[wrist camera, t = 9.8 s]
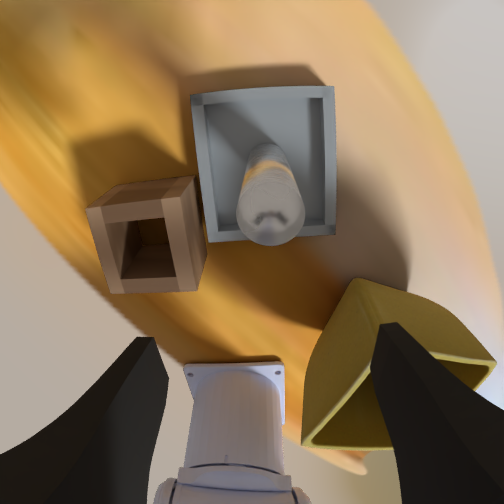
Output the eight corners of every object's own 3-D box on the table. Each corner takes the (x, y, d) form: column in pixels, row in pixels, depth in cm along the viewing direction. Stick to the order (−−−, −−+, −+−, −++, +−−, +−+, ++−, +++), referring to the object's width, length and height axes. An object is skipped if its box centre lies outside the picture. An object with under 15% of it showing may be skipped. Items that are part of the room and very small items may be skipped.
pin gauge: (287, 178, 17) (305, 244, 10) (249, 180, 17) (239, 247, 10) (285, 141, 16) (304, 180, 9) (247, 143, 16) (233, 183, 9)
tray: (329, 224, 19) (335, 234, 17) (211, 231, 19) (208, 242, 18) (327, 86, 15) (334, 86, 14) (195, 95, 15) (189, 94, 14)
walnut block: (207, 254, 20) (196, 291, 16) (133, 259, 20) (110, 293, 16) (195, 175, 17) (179, 196, 14) (115, 185, 18) (85, 208, 14)
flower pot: (287, 343, 23) (297, 449, 15) (338, 242, 19) (385, 345, 11) (382, 361, 24) (412, 449, 16) (438, 277, 20) (501, 362, 12)
